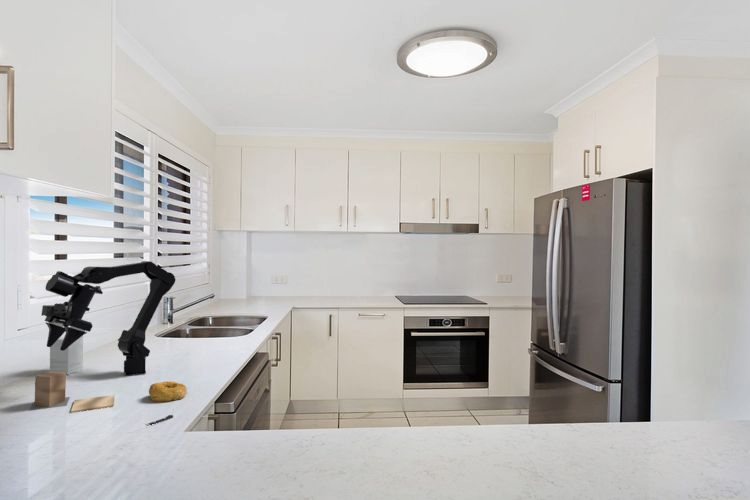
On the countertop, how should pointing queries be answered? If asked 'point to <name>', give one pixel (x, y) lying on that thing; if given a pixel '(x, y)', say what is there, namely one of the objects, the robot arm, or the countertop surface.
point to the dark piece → (160, 420)
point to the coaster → (93, 403)
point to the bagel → (167, 391)
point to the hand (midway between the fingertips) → (54, 348)
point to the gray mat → (49, 407)
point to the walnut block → (50, 388)
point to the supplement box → (66, 356)
